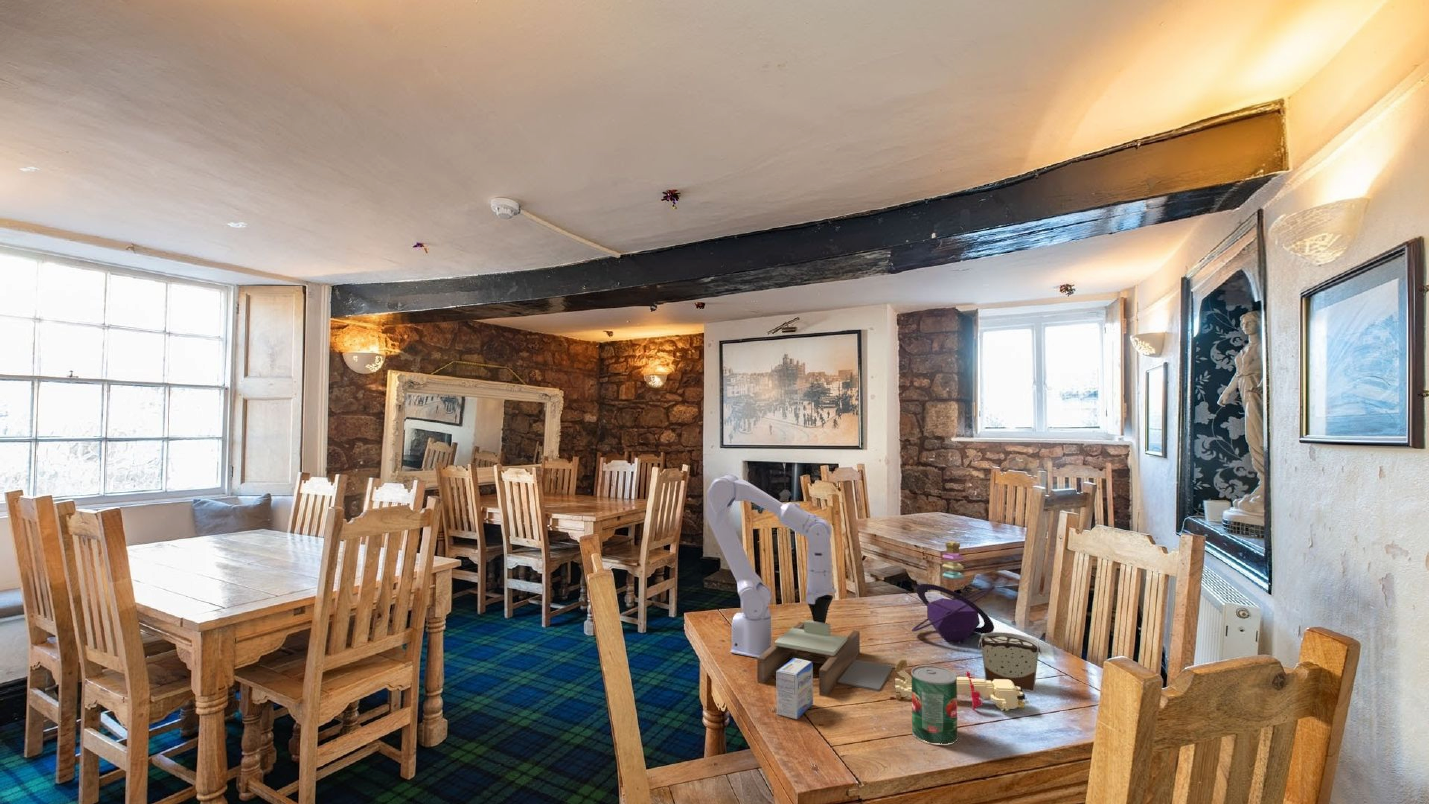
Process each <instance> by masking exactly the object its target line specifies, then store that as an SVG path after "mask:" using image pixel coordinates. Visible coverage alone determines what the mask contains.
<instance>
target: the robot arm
mask: <svg viewBox="0 0 1429 804" xmlns="http://www.w3.org/2000/svg"><path fill="white" fill-rule="evenodd" d="M706 499H707V501H706V510H705V511H706V512H705V516H706V517H705V518H706V520H707V523H708V524H709V525H708V526H710V529H711V531H712V533H713V535H714V537H715V540H716V541H717V543H718V545H719V547H720V550H721V552H722V554H723V556H724V558H725V560H726V563H727V564H728V567H729V569H730V571H731V573H732V576H733V577H734V579H735V581H736V584H737V585H736V586H737V594H738V596H739V599H740V609H741V611H742V612H736V613H734V615H733V618H732V621H731V650H730V654H736V655H741V656H747V657H752V658H758V657H759V656H760V655H762V654H763V653H764V652H765V651H766V650H767V649H769V648H770V647H771V646H772V612H771V611H770V608H769V606H770V605H771V602H772V600H773V593H772V591H771V589H770V588H769V586H767V585H766V584H764V582H763V580H762V579H761V576H760V575H758V574H757V573H756V572H755V570H754V567H753V566H752V564H751V561H750V559H749V557H748V555H747V554H746V551H745V548H744V547H743V544H742V542H741V540H740V539H739V537H738V534H737V532H736V530H735V528H734V526H733V524H732V521H731V520H730V518H729V512H730V510H731V508H732V506H733V502H734V501H735V502H742V501H743V502H745V501H746V502H747V501H748V502H750V503H752V504H755V505H756V506H758V507H760V508H762V509H764V510H766V511H768V512H770V513H771V514H773V515H776V516H777V519H778V523H780V524H781V525H783V526H784V527H786V528H788V529H790V531H791V530H792V531H793V532H795V533H796V534H798V535H800V536H805V538H806V540H807V546H808V547H807V551H806V552H807V557H806V558H807V559H806V560H807V563H806V564H807V566H806V567H807V568H806V569H807V570H806V571H807V573H806V575H807V576H806V577H807V584H806V585H807V586H806V595H805V604H807V605H808V607H809V609H810V610H809V611H810V614H811V617H812V621H816V622H822V623H827V616H828V612H829V608H830V605H831V603H832V601H833V598H834V596H833V595H830V594H836V593H837V589H836V588H834V587H833V582H832V550H831V548H832V544H831V537H832V533H833V532H832V531H833V529H832V525H831V524H830V522H829V521H827V519H825V517H822V516H819V515H818V514H817V513H813V514H812V513H811V512H809V511H807V510H805V509H803V508H802V507H801V504H800V503H798V502H795V503H792V502H787V503H782V502H781V501H779V500H778V499H776V498H774V497H773V496H772V495H770V494H768V493H767V492H765V491H763V490H761V489H760V488H759V487H757V486H755V485H754V484H752V483H750V482H749V481H747V480H745V479H742V478H739V477H737V476H736V475H734V474H725V475H723V476H722V477H717V478H715V479H714V480H712V482H711V484H710V485H709V487H708V489H707V491H706ZM818 516H819V517H818Z"/></svg>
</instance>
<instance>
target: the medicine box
mask: <svg viewBox="0 0 1429 804" xmlns="http://www.w3.org/2000/svg"><path fill="white" fill-rule="evenodd" d="M813 663H814V662H811V661H807V660H803V659H797V658H791V659H790V660H788V661H787V662H786V663H784V664H783V665H782V666H781V667H780V668H779V669H778V670H777V671H776V672H775V673H776V674H775V675H776V679H775V681H776V684H775V685H776V714H777V715H779V716H781V717H785V718H789V719H794V720H798V719H799V718H800V717H801V716H802V715H804V713H805V712H806V711H807V710H808V709H809V708H810V707H811V706H813V704H814V683H813V682H814V681H813V680H814V679H813V678H814V677H813V676H814V675H813V673H814V671H813V669H814V668H813V667H814V666H813Z"/></svg>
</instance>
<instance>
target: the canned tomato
mask: <svg viewBox="0 0 1429 804" xmlns="http://www.w3.org/2000/svg"><path fill="white" fill-rule="evenodd" d="M910 673H911V679H912V681H911V682H912V698H911V733H912V735H913V737H914V736H915V737H914V738H916V737H917V738H918V739H920V740H925V741H927V742H929V743H940V744H941V743H942V744H948V743H953V742H955V741H956V740H957V739H958V740H959V738H958V695H957V677H958V676H957V674H956V673H955V672H954V671H952V670H950V669H948V668H945V667H941V666H937V665H928V664H926V665H918V666H915V667H913V668H912V669H911V671H910ZM917 738H916V739H917ZM918 739H917V740H918ZM920 740H919V741H920ZM958 740H957V741H958ZM955 743H956V742H955Z"/></svg>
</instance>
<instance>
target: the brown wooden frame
mask: <svg viewBox="0 0 1429 804" xmlns="http://www.w3.org/2000/svg"><path fill="white" fill-rule="evenodd" d="M792 628H796V629H802V630H804V622H803V621H802V622H801V621H800V622H798V623H797V624H796V625H794V626H793V627H792ZM860 634H861V633H860V630H854V629H853V631H852V632H850V634H848V636H846V637H847V641H846V642H845V644H844V645H843V646H842V647H841V648H840V649H839V650H838V652H837V653H836V654H835V655H834V656H832V655H831V656H830V657H829V658H824V657H818V656H813V655H810V654H807V653H800V652H798V651H799V650H798V649H792V648H786V647H781V646H775V645H774V643H773V644H771V647H770V648H769V649H767V650H766V651H765V652H764V653H763V654H762V655H760V656H759V657H758V658H757V657H756V658H757V661H756V662H757V664H756V666H757V667H756V668H757V669H756V671H757V672H756V674H757V676H756V677H757V683H760V684H765V683H766V682H767V681H768V680H769V679H770V678H771V677H772V676H773V675H774V674H775V673H776V671H777V670H779V669H780V668H781V667H783V666H784V665H785V664H786V663H788V662H789V661H790V660H791V659H793V658H797V659H803V660H807V661H811V662H812V663H817V664H820V665H821V664H822V665H821V667H820V668H819V670H818V672H819V673H818V675H819V677H818V679H819V682H818V684H819V686H818V692H819V693H818V694H819V696H824V697H827V696H828V694H830V692H831V691H832V690H833V688H834V687H835V686H836V685H837V684H838V680H839V679H840V678H841V676H842V675H843V674H844V672H845V671H846V670H847V668H848V667H849V666H850V665H851V663H852V662H853V661H854V659H855V660H856V658H857V657H858V655H860V653H861V651H860V649H861V646H860V643H861V642H860V640H861V639H860V637H861V635H860Z"/></svg>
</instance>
